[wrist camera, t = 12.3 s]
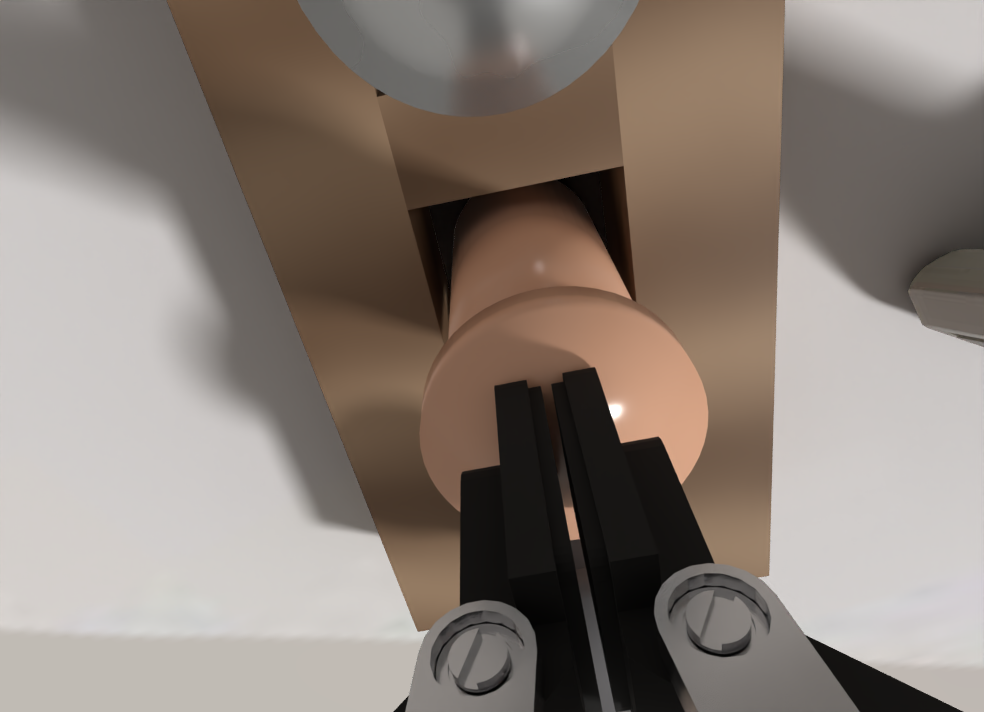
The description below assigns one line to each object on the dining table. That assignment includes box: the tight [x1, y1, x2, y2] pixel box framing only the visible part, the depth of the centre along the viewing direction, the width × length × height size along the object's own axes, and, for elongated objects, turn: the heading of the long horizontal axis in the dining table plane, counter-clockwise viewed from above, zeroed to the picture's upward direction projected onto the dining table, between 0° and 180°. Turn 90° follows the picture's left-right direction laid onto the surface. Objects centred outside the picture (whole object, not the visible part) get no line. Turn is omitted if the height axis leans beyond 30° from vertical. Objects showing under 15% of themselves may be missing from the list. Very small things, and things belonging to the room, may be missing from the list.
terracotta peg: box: [419, 180, 708, 540], centre depth 15 cm, size 5×5×9 cm
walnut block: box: [167, 0, 785, 632], centre depth 18 cm, size 24×12×4 cm, turn 11°
